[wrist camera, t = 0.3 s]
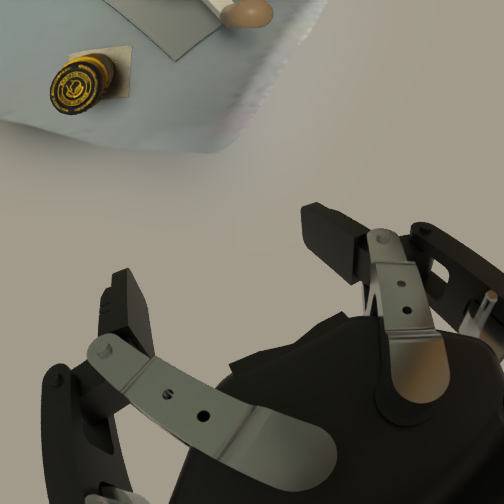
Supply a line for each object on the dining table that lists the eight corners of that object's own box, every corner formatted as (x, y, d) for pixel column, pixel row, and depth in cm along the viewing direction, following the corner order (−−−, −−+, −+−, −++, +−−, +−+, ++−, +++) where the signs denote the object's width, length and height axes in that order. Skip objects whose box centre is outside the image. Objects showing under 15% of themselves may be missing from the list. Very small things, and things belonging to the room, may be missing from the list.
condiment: (69, 54, 20) (41, 61, 12) (132, 45, 23) (131, 46, 16) (68, 104, 25) (44, 134, 17) (128, 96, 28) (127, 120, 21)
